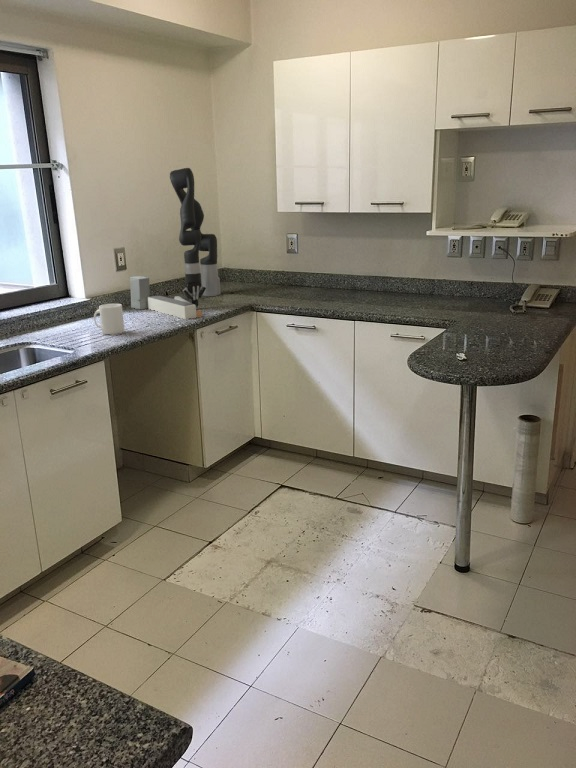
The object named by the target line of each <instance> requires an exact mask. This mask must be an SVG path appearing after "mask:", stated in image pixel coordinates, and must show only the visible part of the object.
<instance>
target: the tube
mask: <svg viewBox="0 0 576 768" xmlns="http://www.w3.org/2000/svg"><path fill="white" fill-rule="evenodd" d="M173 299H175V300H180V301H184V302H188V303H191V302H190V301H189V300H186V299H184V298H183V297H181V296H180V295H175V296H174V298H173Z"/></svg>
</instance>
